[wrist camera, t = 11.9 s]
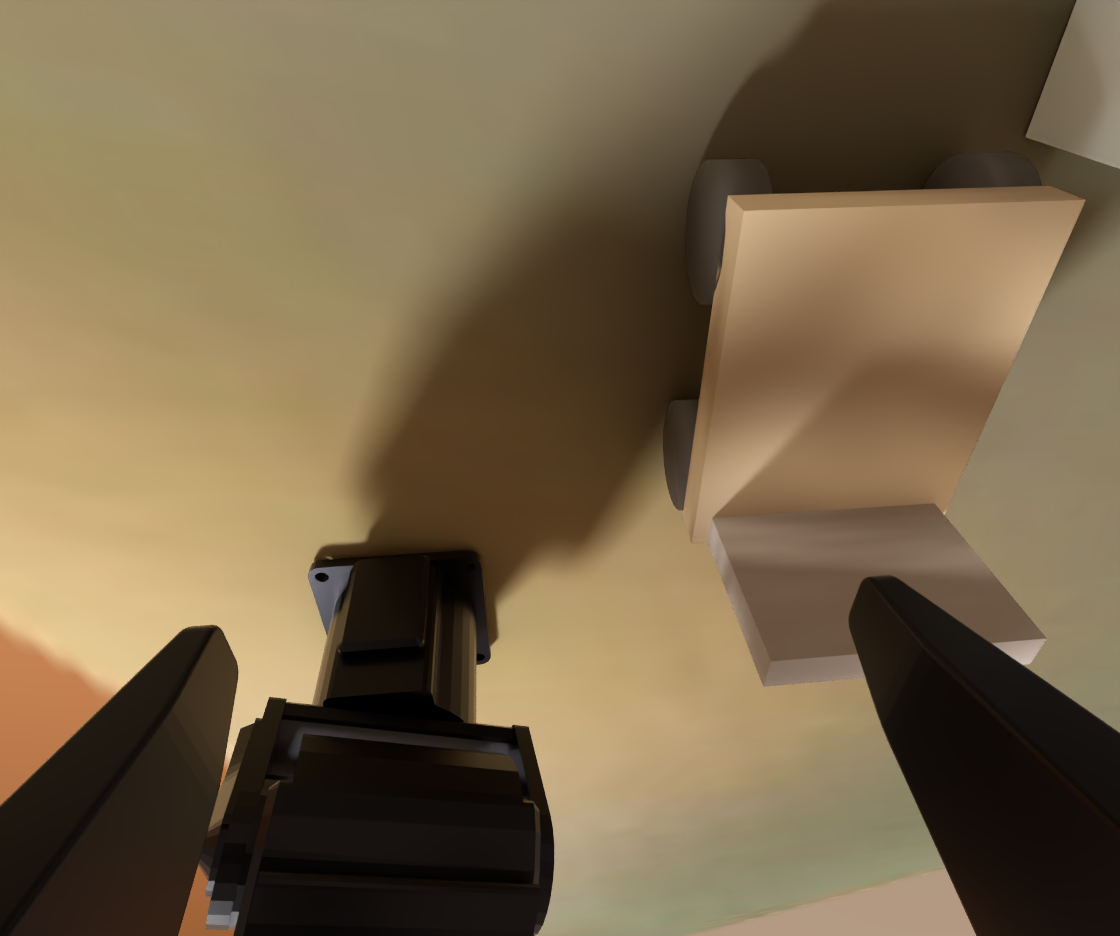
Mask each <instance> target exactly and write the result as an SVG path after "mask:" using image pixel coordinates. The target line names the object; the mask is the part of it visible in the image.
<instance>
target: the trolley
mask: <svg viewBox="0 0 1120 936" xmlns="http://www.w3.org/2000/svg"><path fill="white" fill-rule="evenodd" d="M1085 201H1086V200H1085V199H1082V198H1080V197H1077V196H1075V195H1072V194H1070V193H1068V192H1065V191H1063V190H1060V189H1058V188H1055V187H1053V186H1042V185H1041V181H1040V178H1039V176H1038V173H1037V171H1036V169H1035V168H1034V166H1033V165H1032V163H1031V162H1030V161H1029V160H1028V159H1027V158H1025V157H1024V156H1022V155H1020V154H1018V153H1014V152H981V153H960V154H956V155H953V156H951V157H949V158H948V159H946V160H945V161H944V162H942V163H941V164H940V165H939V166H938V167H937V168H936V169H935V170H934V172H933V173H932V174H931V175H930V177H929V179H928V180H927V182H926V183H925V185H924V187H923V189H922V190H891V191H858V192H824V193H791V194H773V190H772V185H771V180H770V177H769V174H768V171H767V169H766V167H765V166H764V164H763V163H762V162H761V161H760V160H758V159H755V158H750V159H712V160H705V161H704V162H703V163H702V164H701V165H700V166H699V168H698V170H697V172H696V175H695V177H694V181H693V184H692V188H691V192H690V197H689V203H688V210H687V219H686V239H685V240H686V264H687V272H688V278H689V283H690V287H691V290H692V293H693V295H694V297H695V299H696V301H697V302H698V303H699V304H702V305H709V304H713V305H712V312H711V319H710V326H709V333H708V340H707V347H706V354H705V362H704V369H703V376H702V383H701V390H700V397H699V399H690V400H673V401H672V402H671V403H670V404H669V406H668V409H667V412H666V416H665V423H664V434H663V454H664V467H665V475H666V481H667V486H668V490H669V494H670V497H671V500H672V502H673V504H674V506H675V507H676V508H677V509H678V510H683V517H682V518H683V521H684V524H685V526H686V529H687V532H688V535H689V537H690V540H691V543H706V542H708V545H709V547H710V550H711V553H712V555H713V558H714V560H715V563H716V565H717V568H718V571H719V573H720V576H721V578H722V581H723V583H724V586H725V589H726V591H727V594H728V596H729V599H730V601H731V604H732V607H733V609H734V612H735V614H736V617H737V619H738V622H739V625H740V627H741V630H742V632H743V635H744V637H745V640H746V643H747V645H748V648H749V650H750V653H751V655H752V658H753V661H754V663H755V666H756V668H757V671H758V673H759V676H760V679H761V681H762V684H763V686H776V685H788V684H799V683H811V682H823V681H835V680H846V679H858V678H865V676H864V673H863V669H862V666H861V663H860V660H859V657H858V654H857V651H856V648H855V645H854V642H853V639H852V636H851V633H850V630H849V625H848V616H849V612H850V609H851V606H852V604H853V601H854V598H855V596H856V593H857V590H858V588H859V585H860V583H861V581H862V580H863V579H864V578H865V577H868V576H880V575H892V576H895V577H897V578H899V579H900V580H902V581H903V582H905V583H906V584H908V585H909V586H910V587H912V588H913V589H915V590H916V591H918V592H919V593H920V594H922V595H923V596H925V597H926V598H928V599H929V600H930V601H932V602H933V603H935V604H936V605H938V606H939V607H940V608H942V609H943V610H945V611H946V612H948V613H949V614H950V615H952V616H953V617H955V618H956V619H958V620H959V621H961V622H962V623H963V624H965V625H966V626H968V627H969V628H971V629H972V630H973V631H975V632H976V633H978V634H979V635H981V636H982V637H983V638H985V639H986V640H988V641H989V642H991V643H992V644H993V645H995V646H996V647H998V648H999V649H1001V650H1002V651H1003V652H1005V653H1006V654H1008V655H1009V656H1011V657H1012V658H1013V659H1015V660H1016V661H1018V662H1019V663H1021V664H1030V663H1031V661H1032V660H1033V658H1034V657H1035V655H1036V654H1037V652H1038V651H1039V649H1040V648H1041V646H1042V645H1043V643H1044V642H1045V640H1046V639H1047V638H1046V637H1045V636H1044V635H1043V633H1042V632H1041V631H1040V630H1039V629H1038V627H1037V626H1036V625H1035V624H1034V623H1033V621H1032V620H1031V619H1030V618H1029V617H1028V615H1027V614H1026V613H1025V612H1024V611H1023V609H1022V608H1021V607H1020V606H1019V605H1018V603H1017V602H1016V601H1015V600H1014V598H1013V597H1012V596H1011V595H1010V594H1009V592H1008V591H1007V590H1006V589H1005V588H1004V586H1003V585H1002V584H1001V583H1000V582H999V580H998V579H997V578H996V577H995V576H994V574H993V573H992V572H991V571H990V570H989V568H988V567H987V566H986V565H985V564H984V562H983V561H982V560H981V559H980V557H979V556H978V555H977V554H976V553H975V551H974V550H973V549H972V548H971V547H970V545H969V544H968V543H967V542H966V541H965V539H964V538H963V537H962V536H961V535H960V533H959V532H958V531H957V530H956V529H955V527H954V526H953V525H952V524H951V523H950V521H949V520H948V519H947V518H946V517H945V512H946V510H947V508H948V506H949V504H950V501H951V499H952V497H953V495H954V492H955V490H956V488H957V486H958V484H959V481H960V479H961V477H962V475H963V472H964V470H965V468H966V466H967V463H968V461H969V459H970V457H971V455H972V452H973V450H974V448H975V446H976V443H977V441H978V439H979V437H980V435H981V432H982V430H983V428H984V426H985V423H986V421H987V419H988V417H989V414H990V412H991V410H992V408H993V406H994V403H995V401H996V399H997V397H998V394H999V392H1000V390H1001V388H1002V386H1003V383H1004V381H1005V379H1006V377H1007V374H1008V372H1009V370H1010V368H1011V365H1012V363H1013V361H1014V359H1015V357H1016V354H1017V352H1018V350H1019V348H1020V345H1021V343H1022V341H1023V339H1024V337H1025V334H1026V332H1027V330H1028V328H1029V325H1030V323H1031V321H1032V319H1033V316H1034V314H1035V312H1036V310H1037V308H1038V305H1039V303H1040V301H1041V299H1042V296H1043V294H1044V292H1045V290H1046V288H1047V285H1048V283H1049V281H1050V279H1051V276H1052V274H1053V272H1054V270H1055V268H1056V265H1057V263H1058V261H1059V259H1060V256H1061V254H1062V252H1063V250H1064V247H1065V245H1066V243H1067V241H1068V239H1069V236H1070V234H1071V232H1072V230H1073V227H1074V225H1075V223H1076V221H1077V219H1078V216H1079V214H1080V212H1081V210H1082V207H1083V205H1084V203H1085Z"/></svg>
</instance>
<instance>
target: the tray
mask: <svg viewBox="0 0 1120 936" xmlns="http://www.w3.org/2000/svg"><path fill="white" fill-rule="evenodd" d="M1025 137H1026V138H1029V139H1032V140H1035V141H1038V142H1041V143H1044V144H1047V145H1050V146H1053V147H1056V148H1059V149H1062V150H1065V151H1068V152H1071V153H1074V154H1077V155H1080V156H1083V157H1086V158H1089V159H1092V160H1095V161H1098V162H1101V163H1104V164H1107V165H1110V166H1113V167H1116V168H1119V169H1120V0H1077V1H1076V3H1075V6H1074V9H1073V11H1072V14H1071V17H1070V19H1069V22H1068V25H1067V27H1066V30H1065V33H1064V35H1063V38H1062V41H1061V43H1060V46H1059V48H1058V51H1057V54H1056V56H1055V59H1054V62H1053V64H1052V67H1051V70H1050V72H1049V75H1048V78H1047V80H1046V83H1045V86H1044V88H1043V91H1042V94H1041V96H1040V99H1039V102H1038V104H1037V107H1036V110H1035V112H1034V115H1033V118H1032V120H1031V123H1030V125H1029V128H1028V131H1027V133H1026V136H1025Z"/></svg>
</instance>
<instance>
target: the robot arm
mask: <svg viewBox="0 0 1120 936" xmlns="http://www.w3.org/2000/svg"><path fill="white" fill-rule="evenodd" d="M467 562H470V563H472V564H465V563H467ZM320 572H321V573H325V574H321V573H320ZM308 578H309V582H310V585H311V588H312V591H313V594H314V597H315V600H316V603H317V606H318V609H319V613H320V616H321V619H322V622H323V625H324V628H325V631H326V634H327V640H326V645H325V649H324V654H323V658H322V663H321V667H320V672H319V676H318V681H317V685H316V690H315V694H314V699H313V703H312V705H309V704H301V703H292V702H286V700H287V699H282V698H274V697H269V700H268V703H267V706H266V709H265V712H264V715H263V718H262V719H260V718H256V720H255V723H253V724H251V725H248V726H246V727H243V728H241V729H240V732H239V735H238V738H237V742H236V745H235V748H234V751H233V755H232V758H231V761H230V764H229V767H228V770H227V773H226V776H225V779H224V781H223V784H222V786H221V789H220V791H219V787H220V782H221V777H222V771H223V766H224V760H225V754H226V748H227V742H228V736H229V730H230V724H231V718H232V712H233V706H234V700H235V694H236V688H237V682H238V665H237V662H236V659H235V657H234V655H233V653H232V650H231V648H230V646H229V644H228V642H227V640H226V638H225V635H224V633H223V631H222V630H221V628H219V627H218V626H216V625H205V626H192V627H187V628H185V629H183V630H182V631H181V632H179V633H178V634H177V635H176V636H175V637H174V638H173V639H172V640H171V641H170V642H169V643H168V644H167V645H166V646H165V647H164V648H163V649H162V650H161V651H160V652H159V653H158V654H157V655H155V656H154V657H153V658H152V659H151V660H150V661H149V662H148V663H147V664H146V665H145V666H144V667H143V668H142V669H141V670H140V671H139V672H138V673H137V674H136V675H135V676H134V677H133V678H132V679H131V680H130V681H129V682H128V683H126V684H125V685H124V686H123V687H122V688H121V689H120V690H119V691H118V692H117V693H116V694H115V695H114V696H113V697H112V698H111V699H110V700H109V701H108V702H107V703H106V704H105V705H104V706H103V707H102V708H101V709H100V710H99V711H98V712H96V714H94V715H93V716H92V717H91V718H90V719H89V720H88V721H87V722H86V723H85V724H84V725H83V726H82V727H81V728H80V729H79V730H78V731H77V732H76V733H75V734H74V735H73V736H72V737H71V738H70V739H69V740H67V741H66V742H65V743H64V744H63V745H62V746H61V747H60V748H59V749H58V750H57V751H56V752H55V753H54V754H53V755H52V756H51V757H50V758H49V759H48V760H47V761H46V762H45V763H44V764H43V765H42V766H41V767H40V768H38V769H37V770H36V771H35V772H34V773H33V774H32V775H31V776H30V777H29V778H28V779H27V780H26V781H25V782H24V783H23V784H22V785H21V786H20V787H19V788H18V789H17V790H16V791H15V792H14V793H13V794H12V795H11V796H10V797H8V798H7V799H6V800H5V801H4V802H3V803H2V804H1V805H0V936H178V934H179V930H180V927H181V923H182V920H183V916H184V913H185V909H186V906H187V902H188V898H189V895H190V891H191V888H192V884H193V881H194V877H195V874H196V870H197V867H198V865H199V867H200V869H201V870H202V872H203V873H204V875H205V876H206V878H207V880H208V883H207V889H206V897H210V898H211V901H210V906H209V911H208V916H207V922H206V929H216V930H228V929H234V930H235V931H234V936H535V935H537V934H538V932H539V931H540V929H541V927H542V925H543V923H544V920H545V917H546V914H547V911H548V906H549V902H550V897H551V890H552V883H553V871H554V837H553V827H552V821H551V816H550V812H549V808H548V803H547V799H546V795H545V791H544V787H543V783H542V779H541V775H540V771H539V767H538V763H537V759H536V755H535V751H534V747H533V743H532V739H531V735H530V731H529V727H527V726H518V725H513V726H512V727H504V726H495V725H486V724H477V723H476V665H479V664H484V663H486V662H488V661H489V660H490V657H491V650H490V639H489V629H488V619H487V609H486V599H485V590H484V580H483V570H482V560H481V556H480V555H479V554H478V553H477V552H474V551H469V550H466V551H451V552H436V553H421V554H407V555H392V556H377V557H362V558H348V559H333V560H320V561H316V562H314V563H313V564H312V565H311V567H310V570H309V574H308ZM848 625H849V630H850V633H851V636H852V639H853V642H854V645H855V648H856V651H857V654H858V657H859V660H860V663H861V666H862V669H863V673H864V676H865V679H866V682H867V685H868V688H869V691H870V694H871V697H872V700H873V703H874V706H875V709H876V712H877V714H878V717H879V720H880V723H881V725H882V728H883V730H884V733H885V735H886V737H887V740H888V742H889V744H890V747H891V749H892V751H893V753H894V755H895V758H896V760H897V762H898V764H899V766H900V769H901V771H902V773H903V775H904V777H905V780H906V782H907V784H908V786H909V788H910V791H911V793H912V795H913V797H914V799H915V802H916V804H917V806H918V808H919V810H920V813H921V815H922V817H923V819H924V821H925V824H926V826H927V828H928V830H929V832H930V835H931V837H932V839H933V841H934V843H935V846H936V848H937V850H938V852H939V854H940V857H941V859H942V861H943V863H944V865H945V868H946V870H947V872H948V874H949V876H950V879H951V881H952V883H953V885H954V887H955V889H956V892H957V894H958V896H959V898H960V900H961V903H962V905H963V907H964V909H965V912H966V914H967V916H968V918H969V920H970V923H971V925H972V927H973V929H974V931H975V933H976V936H1120V733H1119V732H1118V731H1116V730H1115V729H1114V728H1112V727H1111V726H1109V725H1108V724H1106V723H1105V722H1104V721H1102V720H1101V719H1099V718H1098V717H1096V716H1095V715H1094V714H1092V713H1091V712H1089V711H1088V710H1086V709H1085V708H1084V707H1082V706H1081V705H1079V704H1078V703H1076V702H1075V701H1074V700H1072V699H1071V698H1069V697H1068V696H1066V695H1065V694H1064V693H1062V692H1061V691H1059V690H1058V689H1056V688H1055V687H1053V686H1052V685H1051V684H1049V683H1048V682H1046V681H1045V680H1043V679H1042V678H1041V677H1039V676H1038V675H1036V674H1035V673H1033V672H1032V671H1031V670H1029V669H1028V668H1026V667H1025V666H1023V665H1022V664H1021V663H1019V662H1018V661H1016V660H1015V659H1013V658H1012V657H1011V656H1009V655H1008V654H1006V653H1005V652H1003V651H1002V650H1001V649H999V648H998V647H996V646H995V645H993V644H992V643H991V642H989V641H988V640H986V639H985V638H983V637H982V636H981V635H979V634H978V633H976V632H975V631H973V630H972V629H971V628H969V627H968V626H966V625H965V624H963V623H962V622H961V621H959V620H958V619H956V618H955V617H953V616H952V615H950V614H949V613H948V612H946V611H945V610H943V609H942V608H940V607H939V606H938V605H936V604H935V603H933V602H932V601H930V600H929V599H928V598H926V597H925V596H923V595H922V594H920V593H919V592H918V591H916V590H915V589H913V588H912V587H910V586H909V585H908V584H906V583H905V582H903V581H902V580H900V579H899V578H897V577H895V576H892V575H880V576H868V577H865V578H864V579H863V580H862V581H861V583H860V585H859V588H858V590H857V593H856V596H855V598H854V601H853V604H852V606H851V609H850V612H849V616H848ZM218 791H219V793H218Z"/></svg>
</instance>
